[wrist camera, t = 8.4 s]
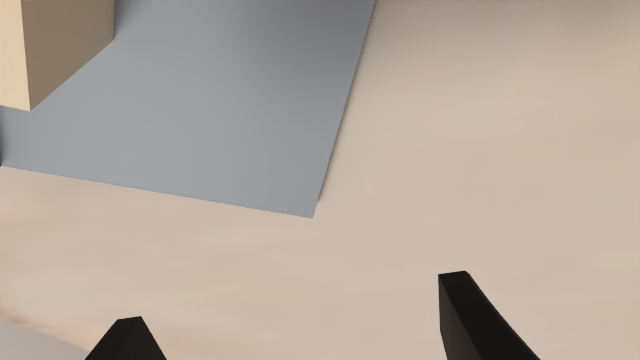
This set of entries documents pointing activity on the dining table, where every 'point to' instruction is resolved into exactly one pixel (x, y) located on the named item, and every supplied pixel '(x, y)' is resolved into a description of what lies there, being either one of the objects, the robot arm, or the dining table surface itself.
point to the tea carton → (48, 45)
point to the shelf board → (203, 102)
